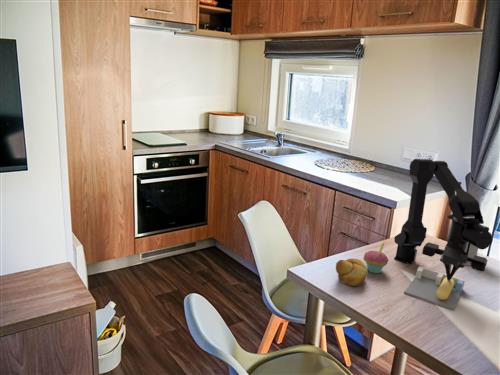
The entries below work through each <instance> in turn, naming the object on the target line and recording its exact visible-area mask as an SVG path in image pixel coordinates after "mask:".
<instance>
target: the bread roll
mask: <svg viewBox="0 0 500 375" xmlns="http://www.w3.org/2000/svg"><path fill="white" fill-rule="evenodd" d="M335 271H336V273H337V275H338V279H339V280H340V282H341V283H342V284H345V285H347V286H351V287H358V286H361V285H362V284H364V282H365V281H366V279H367V276H368V271H369V270H368V269H367V264H366V263H364V260H363V261H362V260H361V259H358V258H347V259H346V260H345V259H339V260H338V261H337V262H336V263H335Z"/></svg>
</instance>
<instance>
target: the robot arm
mask: <svg viewBox="0 0 500 375" xmlns="http://www.w3.org/2000/svg"><path fill="white" fill-rule="evenodd" d="M409 176H410V178H411V181H412V185H411V186H412V187H411V194H410V201H409V208H408V215H407V220H406V221H405V222H404V224H402V226H401V231H400V232H399V233H398V234H396V235H395V236H394V244H396V245H397V248H396V253H395V256H394V257H393V259H394V260H397V261H400V262H402V263H405V264H409V265H412V263H413V262H415V261H416V259H417V254H418V249H417V248H418V247H421V246H422V244H423V242H424V241H425V239H426V238H427V231H428V228H427V227H425V226H424V223H423V217H424V216H423V215H424V210H425V209H424V208H425V203H426V202H425V201H426V198H427V197H426V196H427V191H428V190H427V188H428V184H429V183H430V181H431V180H432V179H433V178H434V176H435V179H437V181H438V183H439V185H440V186H441V187H442V189H443V191H444V192H445V193H446V195H447V197H448V206H449V210H450V211H451V214H449V215H448V216H447V218H448V219H450V220H451V224H450V229H449V234H448V238H447V242H446V245H445V246H444V249H443V248H442V249H441V248H440V245H439V244H437V243H433V242H428V241H427V243H425V244H424V246H423V248H422V252H421V254H422V255H424V256H428V257H430V258H431V257H433V256H435V255H439V256H440V258H439V261H440V262H441V263H442V264H443V266H444V269H445V274H446V275H447V280H451V278H452V277H454V275H455V273H456V272H457V271H458V270H459V269H460V268H461V269H464V268H465V266H466V265H465V264H466V263H470V264H471V265H470V267H471V268H472V270H475V271H479V272H481V273H482V272H485V270H486V268H487V265H488V258H487V257H484V256H480V255H478V254H477V255H474V257H473V258H471V257H468V253H467V252H465V251H466V247H467V243H470V244H472V245H474V246H475V247H477V248H478V250H486V249H487V248H489V247H490V245H491V244H492V243H493V236H492V233H491V232H490V231H489V230H490V227H488V226H486V225H484V223H485V222H484V217H483V215H482V212H481V207H480V206H481V205H480V203H479V201H478V200H477V199H476V198H475V197H474V196H473V195H472V194H470V193H468V192H467V191H466V190H465V189H463V187H462V186H461V184H460V182H459V181H458V180H457V179H456V177H455V175H454V174H453V172H452V171H451V169H450V168H449V165H448V162H447V161H445V160H433V159H431V158H429V159H428V158H427V159H426V158H424V159H423V158H414V159H413V160H411V161H410V163H409Z"/></svg>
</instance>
